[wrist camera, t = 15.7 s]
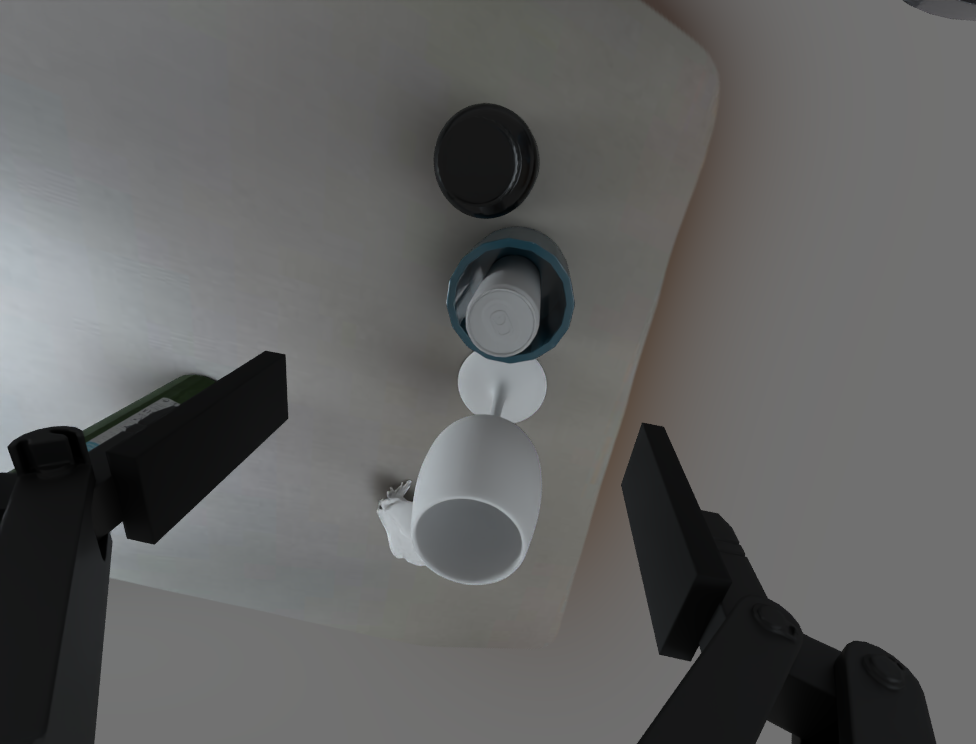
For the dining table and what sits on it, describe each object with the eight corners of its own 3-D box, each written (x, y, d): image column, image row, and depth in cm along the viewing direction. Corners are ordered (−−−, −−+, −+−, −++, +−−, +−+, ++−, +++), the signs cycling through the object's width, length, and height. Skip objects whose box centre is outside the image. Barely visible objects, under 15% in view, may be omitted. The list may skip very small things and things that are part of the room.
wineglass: (550, 346, 42) (552, 488, 23) (542, 427, 46) (539, 608, 27) (458, 339, 43) (388, 471, 24) (457, 419, 47) (395, 589, 28)
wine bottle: (160, 408, 51) (-289, 682, 23) (185, 358, 48) (-298, 606, 20) (222, 449, 52) (-136, 753, 25) (250, 402, 49) (-122, 691, 22)
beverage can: (530, 245, 38) (522, 274, 27) (549, 297, 40) (550, 345, 29) (477, 266, 39) (450, 302, 28) (498, 316, 41) (481, 368, 30)
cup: (530, 203, 38) (526, 211, 30) (588, 293, 40) (598, 321, 33) (444, 267, 41) (422, 287, 33) (503, 348, 43) (494, 383, 36)
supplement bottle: (438, 162, 37) (393, 158, 26) (500, 95, 35) (478, 59, 24) (495, 227, 39) (474, 248, 28) (558, 166, 36) (562, 164, 25)
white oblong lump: (376, 487, 53) (411, 562, 54) (357, 511, 46) (397, 597, 47) (414, 472, 53) (449, 547, 54) (400, 493, 46) (440, 580, 47)
